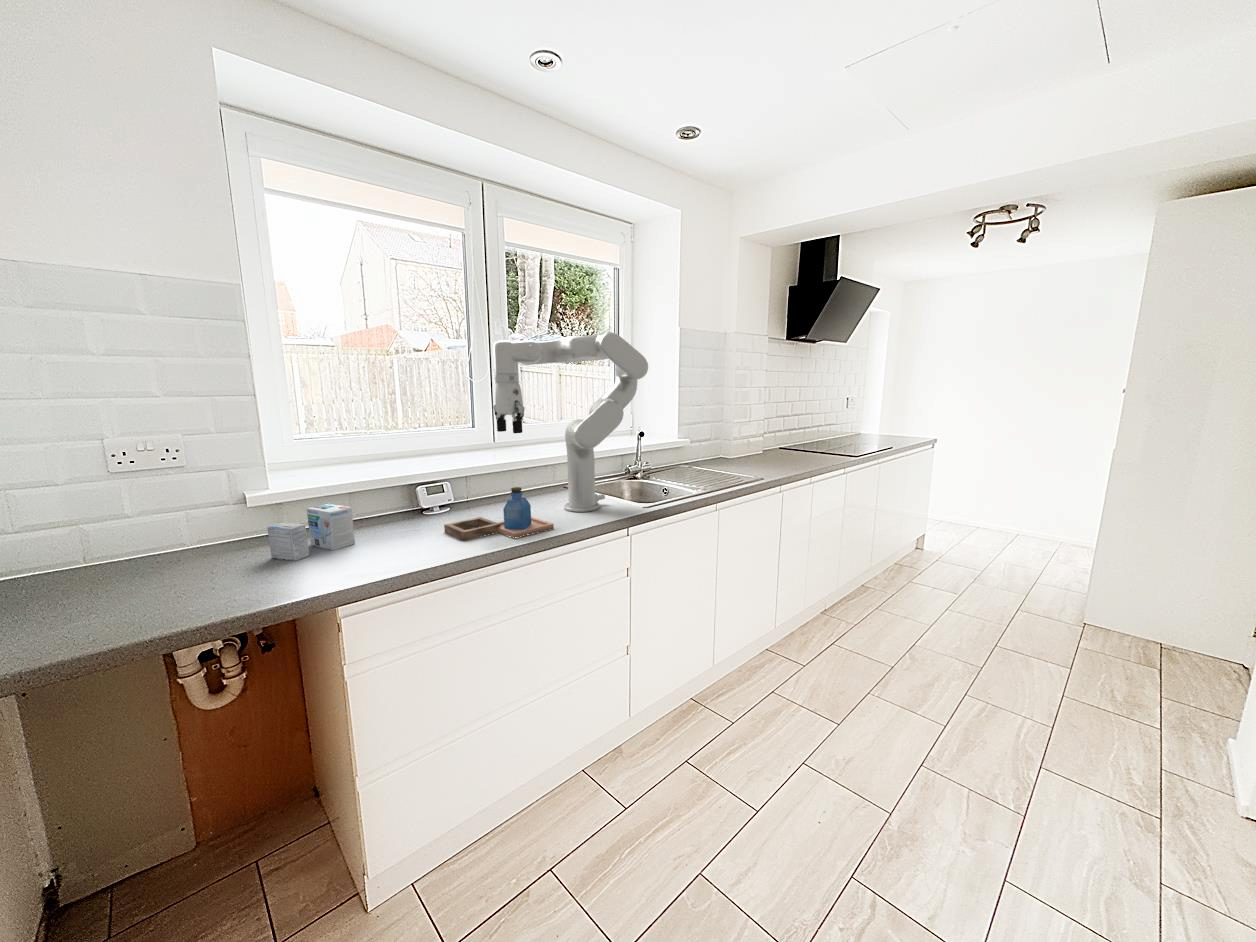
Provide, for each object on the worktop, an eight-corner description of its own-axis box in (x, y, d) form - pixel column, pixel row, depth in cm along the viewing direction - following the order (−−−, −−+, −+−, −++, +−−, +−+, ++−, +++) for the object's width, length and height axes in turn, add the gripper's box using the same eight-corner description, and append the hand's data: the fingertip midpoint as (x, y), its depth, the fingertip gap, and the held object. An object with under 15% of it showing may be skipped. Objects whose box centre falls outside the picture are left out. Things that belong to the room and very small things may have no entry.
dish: (527, 520, 164) (527, 515, 164) (553, 528, 154) (553, 523, 154) (489, 529, 154) (489, 524, 154) (514, 538, 144) (514, 533, 144)
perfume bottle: (531, 524, 157) (529, 486, 155) (523, 529, 151) (522, 490, 149) (512, 523, 158) (510, 486, 156) (504, 528, 152) (502, 490, 150)
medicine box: (310, 555, 132) (306, 524, 130) (294, 561, 127) (290, 528, 126) (286, 553, 134) (282, 522, 132) (270, 559, 130) (266, 526, 128)
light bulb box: (309, 545, 141) (305, 508, 139) (333, 538, 147) (329, 502, 145) (333, 550, 136) (328, 512, 134) (356, 543, 142) (352, 506, 140)
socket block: (480, 524, 160) (480, 516, 159) (500, 531, 151) (500, 523, 151) (444, 532, 151) (444, 524, 151) (463, 540, 143) (463, 532, 143)
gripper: (531, 379, 161) (534, 432, 163) (503, 380, 173) (505, 430, 176) (511, 379, 155) (514, 434, 158) (483, 380, 167) (486, 431, 170)
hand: (509, 432), depth 167 cm, fingers open, 9 cm apart
